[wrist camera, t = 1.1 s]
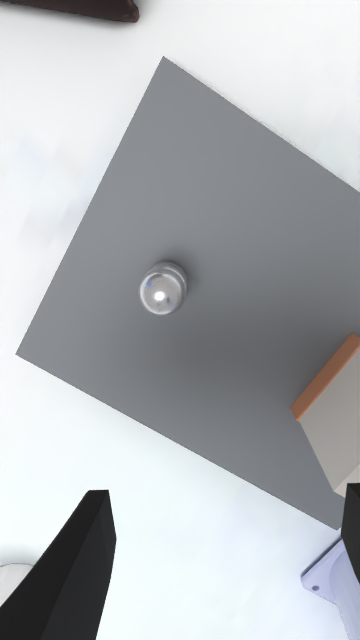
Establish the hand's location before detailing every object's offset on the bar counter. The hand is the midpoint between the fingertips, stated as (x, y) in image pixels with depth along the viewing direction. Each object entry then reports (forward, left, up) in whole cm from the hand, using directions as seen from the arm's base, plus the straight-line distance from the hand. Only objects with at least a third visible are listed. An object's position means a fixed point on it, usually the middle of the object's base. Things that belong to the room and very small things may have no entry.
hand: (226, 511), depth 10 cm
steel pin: (+5, -3, -9) cm, 11 cm away
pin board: (-1, -3, -10) cm, 11 cm away
